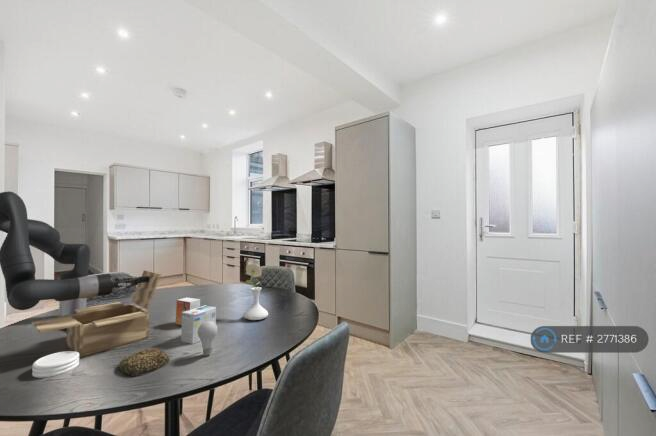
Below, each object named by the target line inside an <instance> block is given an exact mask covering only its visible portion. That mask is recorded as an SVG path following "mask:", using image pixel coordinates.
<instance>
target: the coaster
mask: <svg viewBox="0 0 656 436" xmlns="http://www.w3.org/2000/svg"><path fill="white" fill-rule="evenodd" d="M79 364H80V358H79V353H78V352H75V351H72V350H66V351H58V352H55V353H51V354H47V355H44V356H42V357H40V358H38V359H37V360H35V361H34V362H33V363H32V369H31V370H32V373H31V376H32V377H33V378H38V379H40V378H41V379H44V378H46V379H47V378H51V377H56V376H59V375H60V376H61V375H63V374H66V373H69V372H70V371H73V370H74V369H76V368H77V367H78V366H79Z"/></svg>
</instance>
